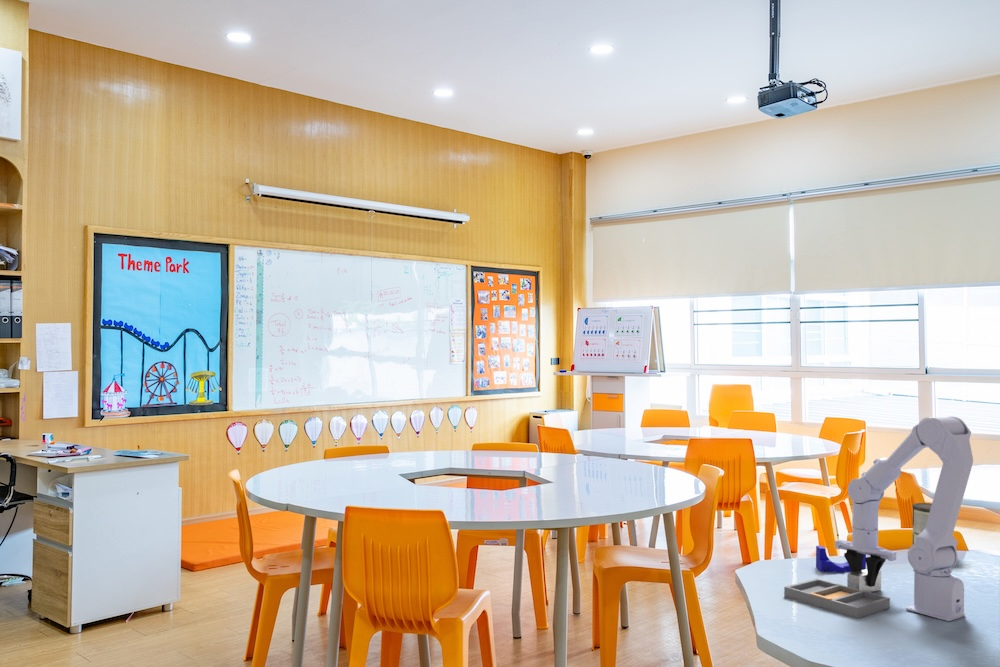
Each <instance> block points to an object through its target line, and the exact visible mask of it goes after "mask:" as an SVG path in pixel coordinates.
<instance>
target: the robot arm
mask: <svg viewBox="0 0 1000 667" xmlns="http://www.w3.org/2000/svg"><path fill="white" fill-rule="evenodd" d="M971 435H972V431H971V430H970V428H969V426H968V425H967V424H966V423H965V422H964V421H963V420H962V418H959V417H957V416H947V417H932V416H927V417H925V418H923V419H921V420H920V421H919V423H918V424H915V426H913V427H912V429H911V431H910V433H909V434H908V435H907V437H906V438H905V439H904V440H903V441H902V442H901V443H900V445H898V446H897V448H896V449H895V450H893V451H892V453H891V454H890V455H889V457H881V458H875V460H874V461H873V465H871V467H870V468H869V469H867V471H863V473H861V477H860V478H853V479H851V481H850V482H849V483H848V485H847V494H848V497H849V498H850V499H851V501H852V518H851V519H852V520H851V522H852V523H851V524H852V532H851V536H852V537H851V538H852V539H851V541H848V540H843V539H837V540H835V541H834V548H835V549H836V550H843V551H846V552H844V553H843V556H844V558H845V560H846V562H848V564H849V566H850V569H851V572H850V573H852V572H856V571H860V570H862V561H863V556H864V554H866V558H865V560H866V569H867V571H868V586H869V587H872V586H875V583H876V579H877V576H878V573H879V571H881V569H882V567H883V566H884V564H885V562H886V560H888V561H890V562H894V561H897V552H896V551H893V550H889V549H886V548H884V547H881V546H879V508H880V502H881V500H882V499H883V498H884V495H885V491H886V490H887V489H888V488H889V487H890V486H891V485H893V483H894V482H895V481H897V479H899V477H901V475H902V470H901V469H902V467H904V466H905V465H906V464H907V463H909V461H910V460H912V459H913V458H914V457H915V456H917V455H918V454H919V453H920V452H922V451H923V450H924V449H925V448H929V449H930V450H931V451H933V453H934V454H936V456H938V457H939V459H940V460H941V462H942V466H941V469H940V474H939V476H938V480H937V484H936V488H935V492H934V495H933V499H932V502H931V504H932V506H931V509H930V513H929V516H928V520H927V524H926V527H925V529H924V530H923V531H922V532H921V533H920V534H919V535H918V536H917V537H916V541H915V543H914V544H913V543H912V545H911V546H910V547H909V549H908V551H907V560H908V562H909V564H910V566H911V567H912V568H913V569H912V570H913V572H914V573H913V574H914V582H913V583H914V584H913V585H914V586H913V589H914V591H913V592H914V593H913V596H914V597H913V605H909V606H907V607H905V609H906V610H907V611H910V612H913V613H917V614H920V615H925V616H928V617H932V618H935V619H938V620H943V621H947V622H950V621H954V620H957V619H959V618H962V617H964V616H966V612H965V586H964V582H963V580H962V579H960V578H957V577H954V576H953V575H952V571H953V570H952V568H954V567H955V566H956V564H957V562H958V559H959V558H958V557H959V556H958V552H957V546H958V540H957V539H956V538H955V536H954V530H955V527H956V524H957V520H958V518H959V513H960V510H961V506H962V503H963V499H964V496H965V492H966V488H967V485H968V481H969V478H970V474H971V472H972V468H973V463H974V456H973V451H972V446H971V441H970V439H971Z"/></svg>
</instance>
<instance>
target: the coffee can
mask: <svg viewBox="0 0 1000 667" xmlns="http://www.w3.org/2000/svg"><path fill="white" fill-rule="evenodd" d="M931 506H932V502H931V503H930V502H917V503H913V504H912V545H913V544H914V543H915V541H916V537H917V536H918V535H919V534H920V533H921V532H922V531H923V530H924V529H925V527H926V524H927V520H928V516H929V513H930V509H931Z"/></svg>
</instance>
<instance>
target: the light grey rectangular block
mask: <svg viewBox="0 0 1000 667" xmlns="http://www.w3.org/2000/svg"><path fill="white" fill-rule="evenodd" d="M846 575H847V584H846V586H847V587H851V588H854V589H858V590H862V591H866V592H869V593H873V592H876V591H877V592H878V591H880V590H881V591H882V570H880V571H879V573H878V576H877V579H876V583H875V586H872V587H869V586H868V571H867V568H866V569H864V570H860V571H856V572H848V573H847V574H846Z"/></svg>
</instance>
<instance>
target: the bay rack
mask: <svg viewBox="0 0 1000 667" xmlns="http://www.w3.org/2000/svg"><path fill="white" fill-rule="evenodd" d="M783 590H784V591H783V593H784V594H783V595H784V597H785V598H788V599H791V600H796V601H799V602H803V603H805V602H806V603H807V604H810V605H812V606H816V607H819V608H822V607H823V609H825V608H826V610H829V611H833V612H835V613H839V614H843V615H846V616H848V617H849V616H850V617H853V618H856V619H859V618H862V617H865V616H868V615H871V614H875V613H878V612H881V611H883V610H887V609H890V607H891V604H890V603H891V598H890V597H887V596H884V595H880V594H877V593H873V592H870V593H869V592H866V591H862V590H858V589H854V588H851V587H847V585H843V584H838V583H835V582H832V581H829V580H824V579H819V578H814V579H811V580H810V579H809V580H805V581H802V582H798V583H794V584H791V585H787V586H784V589H783ZM806 603H805V604H806Z"/></svg>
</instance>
